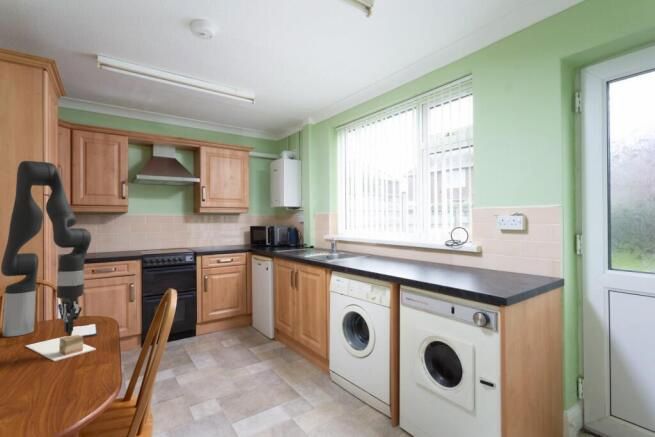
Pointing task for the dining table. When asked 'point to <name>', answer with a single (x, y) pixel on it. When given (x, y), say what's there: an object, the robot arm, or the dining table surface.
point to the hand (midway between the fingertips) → (68, 331)
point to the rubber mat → (55, 349)
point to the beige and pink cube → (71, 344)
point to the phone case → (85, 330)
